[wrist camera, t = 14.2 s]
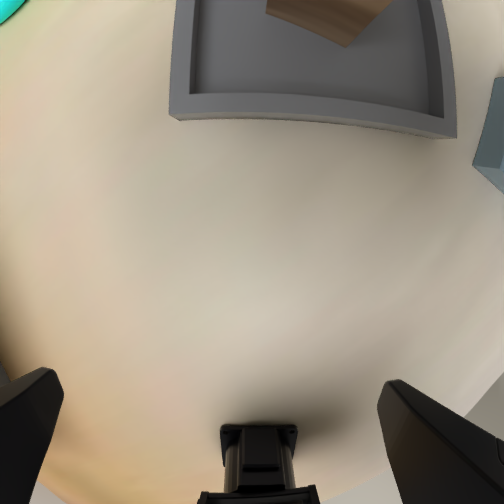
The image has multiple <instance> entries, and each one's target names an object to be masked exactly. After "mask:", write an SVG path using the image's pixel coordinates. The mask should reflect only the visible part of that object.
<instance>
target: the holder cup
mask: <svg viewBox="0 0 504 504" xmlns="http://www.w3.org/2000/svg"><path fill="white" fill-rule="evenodd" d="M472 166H473V167H475V168H476V169H477V170H478V171H479V172H480V173H482V174H483V175H484V176H485V177H486V178H487V179H488V180H489V181H490V182H491V183H493V184H494V185H495V186H496V187H497V188H498V189H499V190H500V191H501V192H502V193H503V194H504V77H500V78H495V81H494V86H493V91H492V96H491V100H490V105H489V109H488V113H487V117H486V121H485V125H484V129H483V132H482V136H481V139H480V143H479V146H478V149H477V152H476V156H475V159H474V162H473V165H472Z"/></svg>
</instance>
